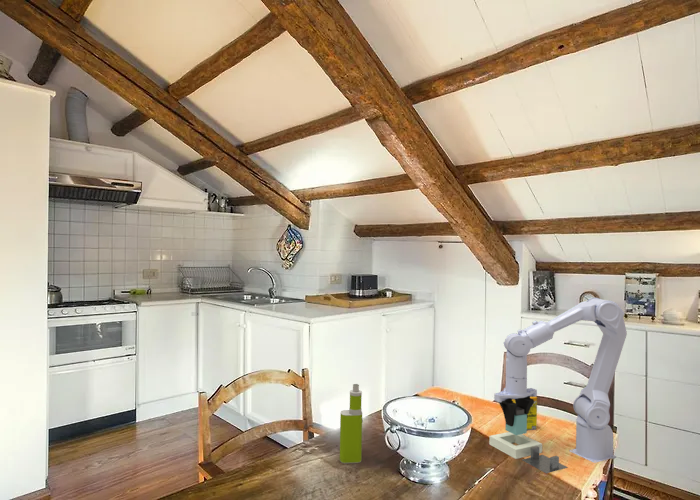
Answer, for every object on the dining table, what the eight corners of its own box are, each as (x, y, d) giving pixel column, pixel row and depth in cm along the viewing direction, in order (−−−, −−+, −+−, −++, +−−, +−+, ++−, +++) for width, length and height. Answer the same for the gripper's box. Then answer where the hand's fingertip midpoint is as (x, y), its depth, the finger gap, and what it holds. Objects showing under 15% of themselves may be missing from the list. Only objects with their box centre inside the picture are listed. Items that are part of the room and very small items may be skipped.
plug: (515, 427, 127) (516, 405, 127) (526, 433, 123) (526, 409, 123) (505, 430, 125) (505, 406, 125) (516, 435, 121) (516, 411, 122)
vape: (362, 462, 115) (364, 386, 115) (340, 463, 114) (342, 387, 114) (360, 456, 118) (362, 382, 119) (338, 457, 118) (340, 383, 118)
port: (514, 440, 131) (514, 430, 131) (542, 454, 122) (542, 443, 122) (489, 446, 127) (489, 435, 127) (515, 461, 118) (516, 449, 118)
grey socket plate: (542, 456, 120) (542, 443, 121) (568, 469, 113) (568, 455, 113) (521, 461, 117) (521, 448, 117) (546, 475, 110) (546, 461, 110)
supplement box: (521, 433, 137) (521, 398, 137) (509, 425, 143) (510, 392, 143) (537, 431, 138) (537, 397, 139) (525, 424, 144) (525, 391, 144)
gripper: (523, 370, 131) (523, 415, 131) (486, 375, 125) (486, 422, 125) (543, 376, 125) (542, 424, 125) (505, 381, 119) (504, 431, 118)
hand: (515, 423), depth 124 cm, fingers closed on plug, 4 cm apart
